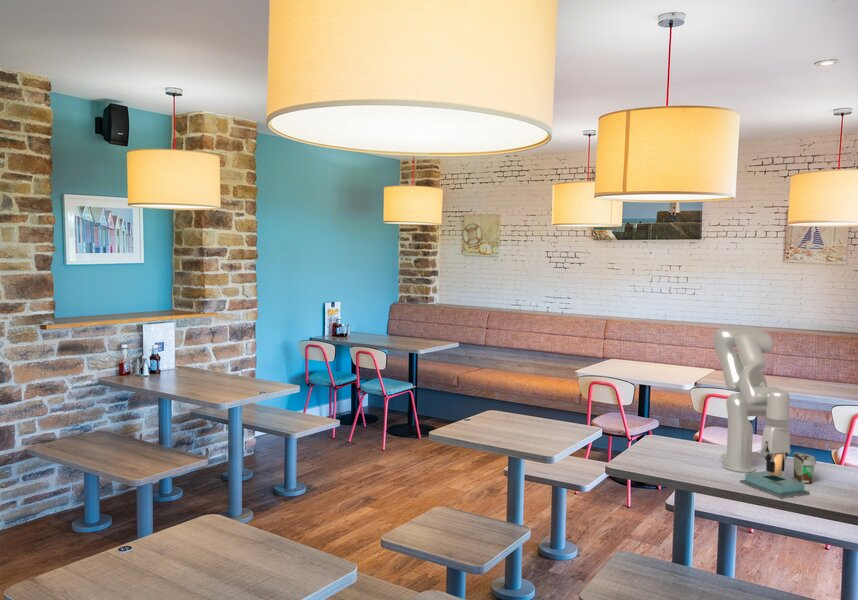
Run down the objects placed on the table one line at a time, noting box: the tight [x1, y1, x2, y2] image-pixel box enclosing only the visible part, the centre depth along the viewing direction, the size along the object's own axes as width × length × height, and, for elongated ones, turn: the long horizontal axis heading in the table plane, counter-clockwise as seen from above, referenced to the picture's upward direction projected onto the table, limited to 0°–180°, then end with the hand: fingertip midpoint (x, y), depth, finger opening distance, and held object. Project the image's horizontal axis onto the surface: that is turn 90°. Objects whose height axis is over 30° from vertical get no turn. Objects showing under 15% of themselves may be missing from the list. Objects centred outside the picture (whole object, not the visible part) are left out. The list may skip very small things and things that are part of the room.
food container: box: [792, 451, 817, 485], centre depth 265 cm, size 12×6×10 cm, turn 168°
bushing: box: [769, 453, 783, 476], centre depth 254 cm, size 4×4×8 cm
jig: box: [739, 470, 811, 499], centre depth 254 cm, size 19×14×4 cm
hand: (775, 470), depth 254 cm, fingers closed on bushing, 4 cm apart
